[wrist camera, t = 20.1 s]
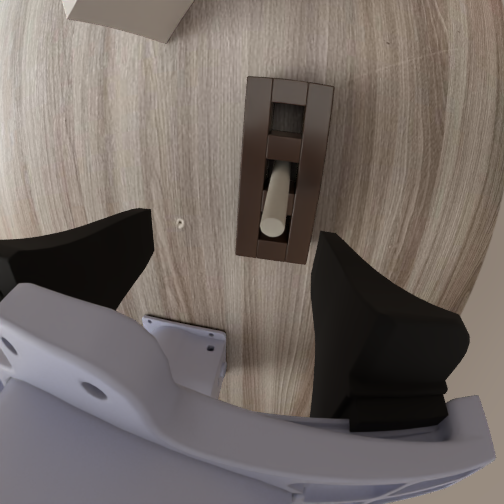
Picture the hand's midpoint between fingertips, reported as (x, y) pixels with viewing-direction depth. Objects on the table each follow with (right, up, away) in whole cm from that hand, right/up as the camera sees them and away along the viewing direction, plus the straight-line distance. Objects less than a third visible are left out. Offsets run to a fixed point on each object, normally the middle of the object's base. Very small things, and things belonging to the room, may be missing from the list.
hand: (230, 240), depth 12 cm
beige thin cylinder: (+3, +6, +8) cm, 10 cm away
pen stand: (+3, +6, +8) cm, 10 cm away
